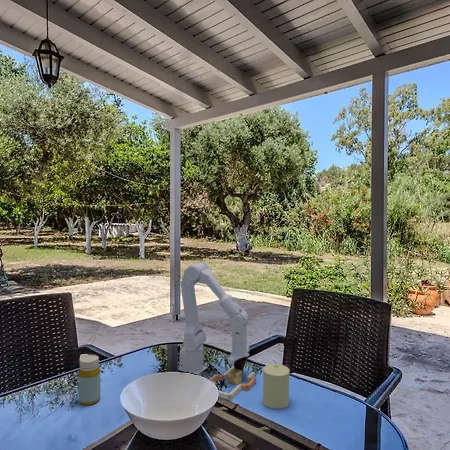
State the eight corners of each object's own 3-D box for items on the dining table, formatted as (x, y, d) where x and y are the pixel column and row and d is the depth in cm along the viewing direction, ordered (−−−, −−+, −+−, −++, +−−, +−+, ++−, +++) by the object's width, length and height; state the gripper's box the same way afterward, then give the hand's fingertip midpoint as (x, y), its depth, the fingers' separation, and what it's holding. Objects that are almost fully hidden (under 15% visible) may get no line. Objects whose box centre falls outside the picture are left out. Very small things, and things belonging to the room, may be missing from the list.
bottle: (104, 398, 131) (104, 356, 130) (89, 408, 124) (89, 364, 123) (89, 393, 134) (89, 352, 133) (74, 403, 127) (73, 360, 126)
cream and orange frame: (200, 391, 136) (200, 386, 136) (227, 369, 154) (227, 365, 154) (236, 402, 129) (236, 397, 129) (260, 378, 147) (260, 373, 146)
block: (227, 382, 143) (227, 372, 143) (232, 377, 146) (233, 368, 146) (237, 384, 141) (237, 374, 141) (241, 380, 144) (242, 370, 144)
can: (288, 395, 134) (288, 363, 133) (290, 409, 125) (290, 375, 124) (262, 394, 135) (262, 361, 134) (262, 408, 125) (263, 373, 125)
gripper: (240, 350, 137) (239, 385, 138) (256, 337, 150) (255, 370, 151) (223, 346, 141) (223, 381, 142) (240, 334, 154) (240, 366, 154)
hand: (239, 375), depth 147 cm, fingers closed
